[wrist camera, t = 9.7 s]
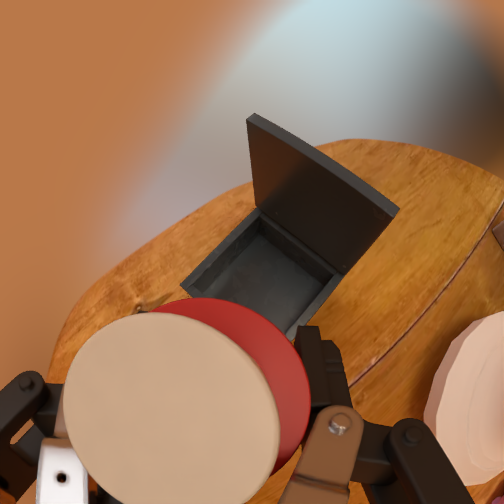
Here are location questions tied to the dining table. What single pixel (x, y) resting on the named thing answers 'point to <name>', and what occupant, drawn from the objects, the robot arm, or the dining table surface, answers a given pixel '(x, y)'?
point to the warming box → (266, 273)
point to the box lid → (315, 195)
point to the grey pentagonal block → (499, 233)
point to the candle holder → (471, 401)
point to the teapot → (498, 500)
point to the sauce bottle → (186, 404)
